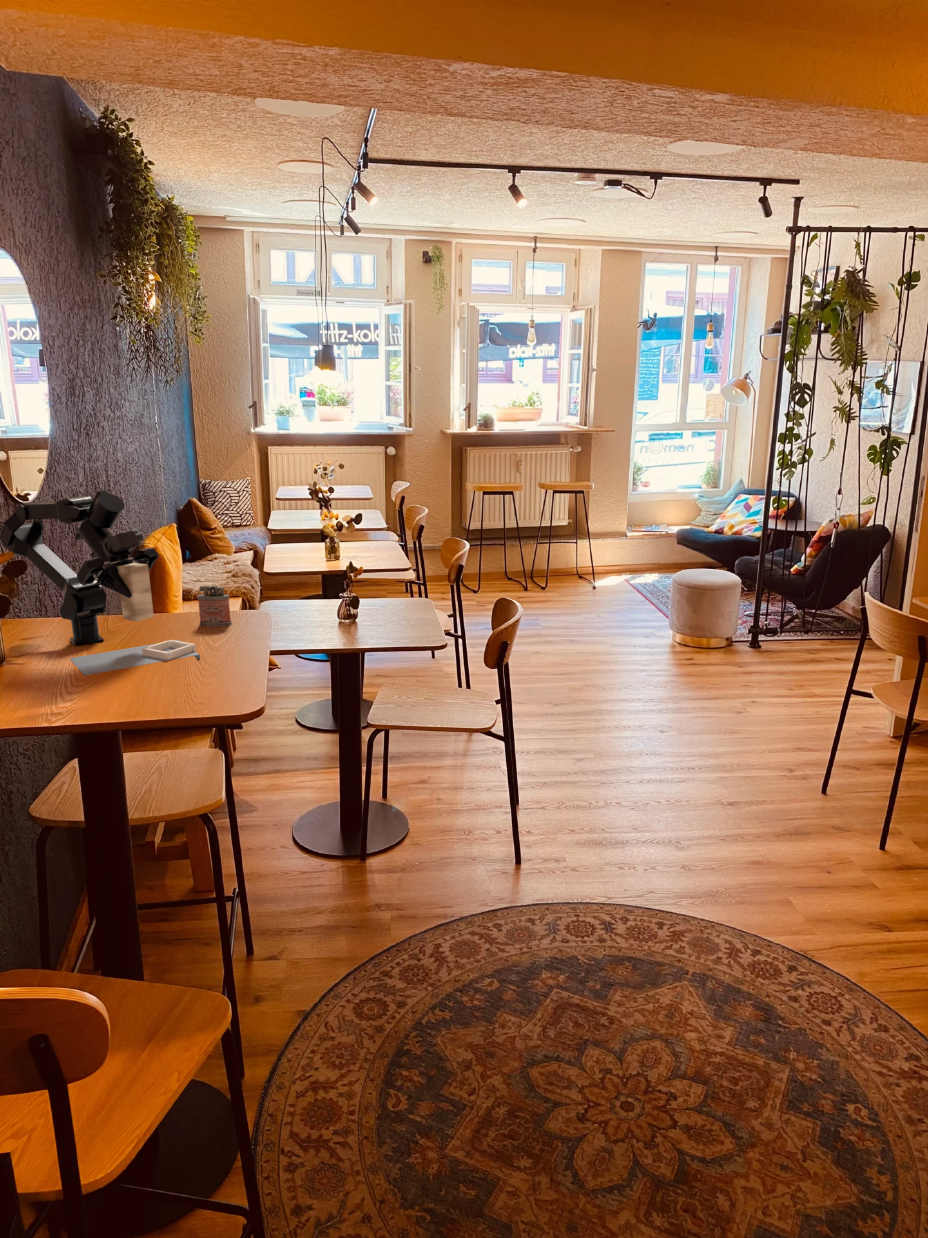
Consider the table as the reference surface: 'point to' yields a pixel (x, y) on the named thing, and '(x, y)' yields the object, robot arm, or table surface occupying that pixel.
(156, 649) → the socket
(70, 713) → the table surface
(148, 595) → the birch pillar
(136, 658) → the plate
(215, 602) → the lighter
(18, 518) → the robot arm
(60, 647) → the table surface
